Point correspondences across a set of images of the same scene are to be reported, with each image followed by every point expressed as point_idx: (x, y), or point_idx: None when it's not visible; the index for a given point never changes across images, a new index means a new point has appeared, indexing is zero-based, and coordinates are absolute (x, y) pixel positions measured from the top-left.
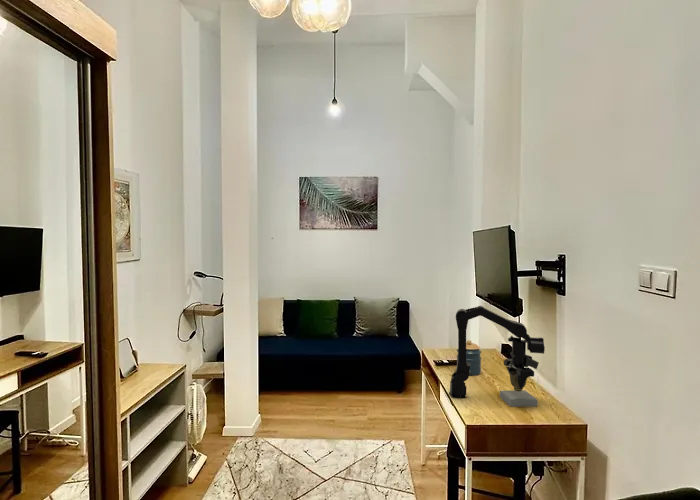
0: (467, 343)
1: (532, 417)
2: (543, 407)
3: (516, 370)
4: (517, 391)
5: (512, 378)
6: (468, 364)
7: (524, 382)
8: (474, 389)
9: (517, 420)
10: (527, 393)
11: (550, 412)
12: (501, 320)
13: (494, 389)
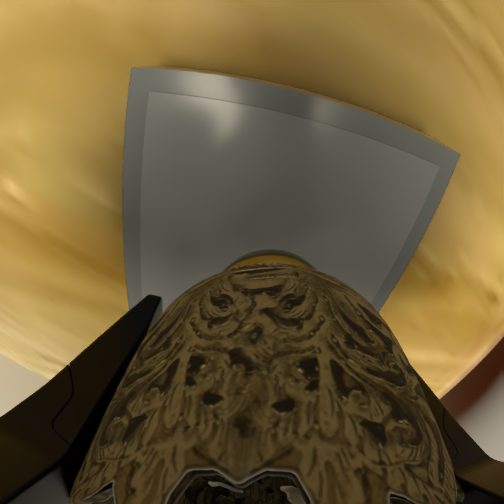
0: None
1: (493, 292)
2: (455, 102)
3: (61, 499)
4: (162, 193)
5: (284, 482)
6: None
7: (438, 409)
8: (40, 323)
9: (462, 356)
10: (258, 113)
11: None
12: None
13: (10, 229)
